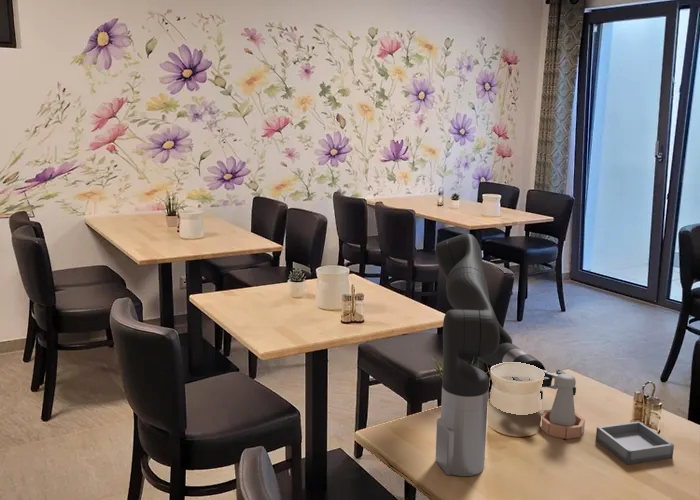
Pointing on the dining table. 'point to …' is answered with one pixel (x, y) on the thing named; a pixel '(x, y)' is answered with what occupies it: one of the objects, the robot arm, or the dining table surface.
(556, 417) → the salt shaker
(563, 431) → the collar
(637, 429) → the tray
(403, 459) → the dining table surface
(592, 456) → the dining table surface
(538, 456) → the dining table surface
